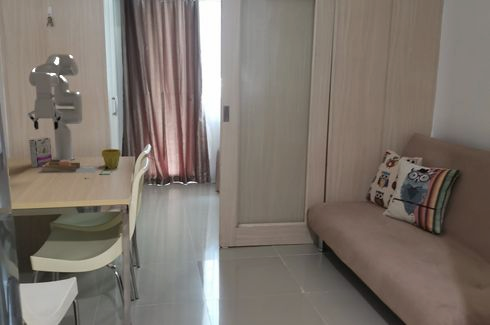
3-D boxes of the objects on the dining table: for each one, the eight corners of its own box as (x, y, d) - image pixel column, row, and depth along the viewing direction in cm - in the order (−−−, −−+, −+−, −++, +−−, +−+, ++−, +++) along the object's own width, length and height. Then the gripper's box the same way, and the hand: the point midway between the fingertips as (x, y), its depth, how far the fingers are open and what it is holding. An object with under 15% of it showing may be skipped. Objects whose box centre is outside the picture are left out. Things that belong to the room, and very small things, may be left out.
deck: (47, 168, 247) (47, 166, 246) (100, 167, 251) (100, 165, 250) (36, 175, 229) (36, 173, 229) (94, 174, 233) (94, 172, 233)
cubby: (48, 168, 242) (47, 162, 241) (80, 167, 244) (79, 162, 244) (42, 171, 232) (42, 166, 232) (75, 171, 235) (75, 165, 234)
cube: (62, 168, 241) (61, 159, 240) (71, 168, 241) (71, 159, 240) (59, 170, 236) (59, 161, 235) (69, 170, 236) (68, 161, 235)
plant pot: (115, 169, 247) (115, 152, 246) (99, 168, 249) (98, 151, 248) (124, 165, 257) (123, 149, 256) (108, 165, 259) (107, 148, 258)
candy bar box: (45, 165, 256) (43, 137, 253) (52, 165, 254) (50, 137, 251) (30, 168, 246) (28, 139, 243) (37, 169, 244) (35, 140, 241)
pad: (98, 172, 240) (98, 170, 240) (111, 171, 241) (111, 170, 241) (96, 174, 233) (96, 173, 233) (109, 174, 234) (109, 173, 234)
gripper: (63, 96, 234) (65, 128, 237) (29, 96, 231) (31, 128, 234) (59, 97, 226) (61, 130, 229) (24, 96, 224) (26, 130, 227)
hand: (46, 129), depth 232 cm, fingers open, 9 cm apart
